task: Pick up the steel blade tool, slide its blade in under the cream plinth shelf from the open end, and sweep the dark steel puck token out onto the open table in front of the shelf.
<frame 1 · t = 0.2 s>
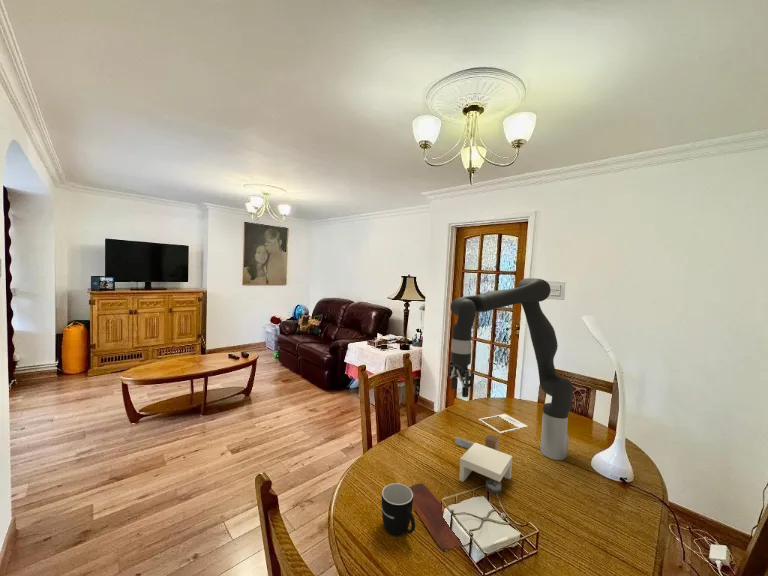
hand: (459, 392, 121), 28 cm above the table, fingers open, 8 cm apart
blade tool: (491, 457, 127), on the table
mug: (399, 531, 89), on the table
wooden tablet: (432, 515, 97), on the table
plinth shelf: (485, 478, 114), on the table
photo frame: (502, 424, 158), on the table
token: (493, 489, 109), on the table
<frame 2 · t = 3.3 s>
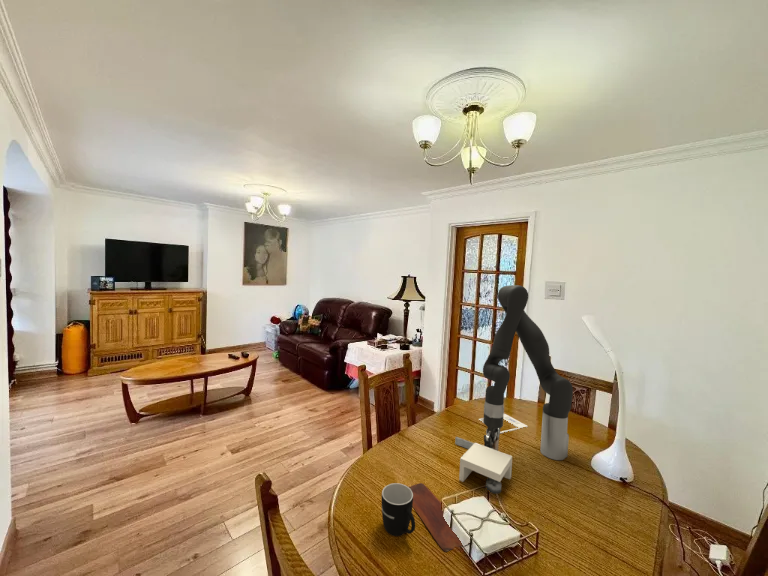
hand: (491, 454, 127), 1 cm above the table, fingers closed on blade tool, 4 cm apart
blade tool: (491, 457, 127), on the table, touching gripper
everything else where it was.
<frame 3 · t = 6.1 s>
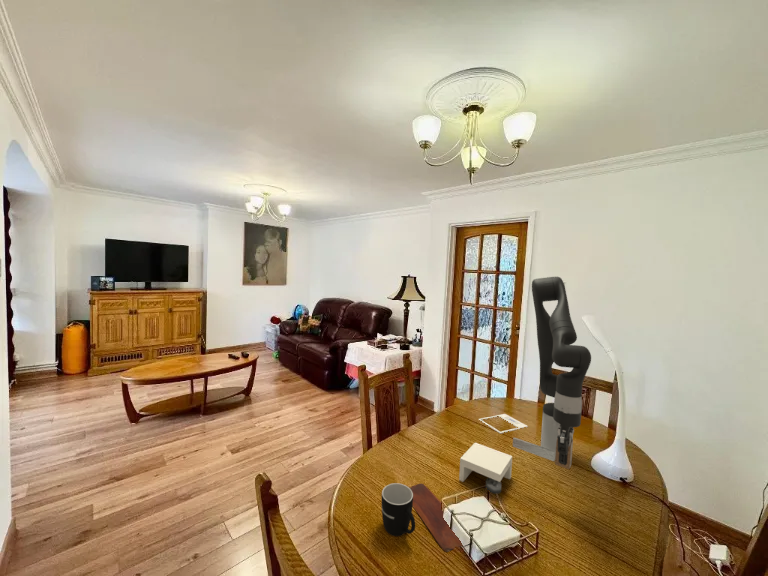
hand: (563, 460, 100), 15 cm above the table, fingers closed on blade tool, 4 cm apart
blade tool: (563, 464, 100), point 14 cm above the table, touching gripper
everything else where it was.
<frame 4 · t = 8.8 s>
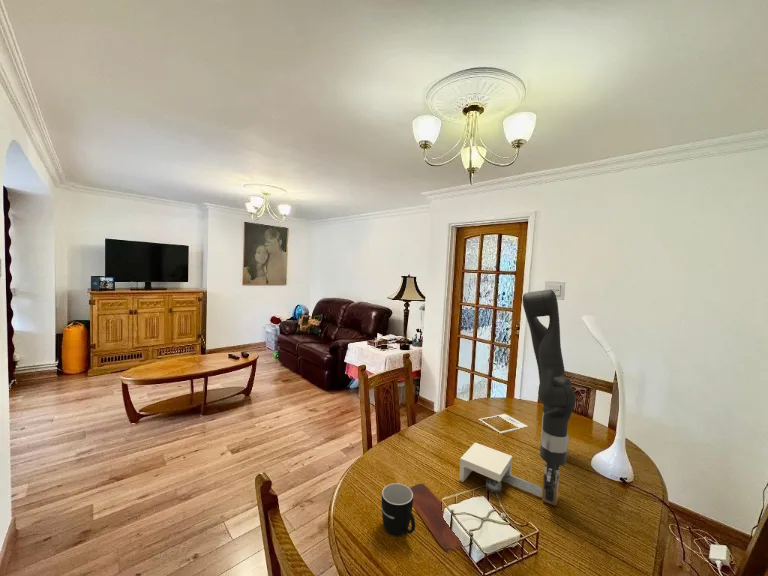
hand: (550, 496, 103), 2 cm above the table, fingers closed on blade tool, 4 cm apart
blade tool: (549, 499, 103), point 1 cm above the table, touching gripper
everything else where it was.
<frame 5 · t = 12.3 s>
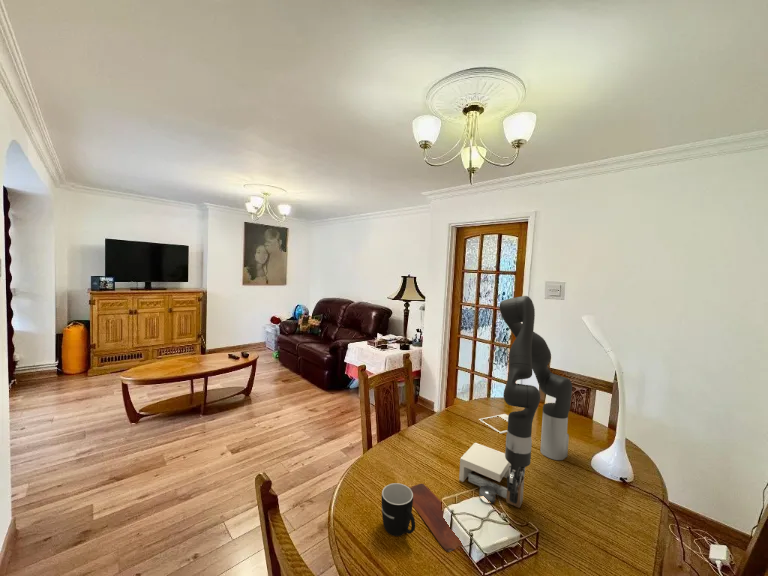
hand: (515, 497, 101), 2 cm above the table, fingers closed on blade tool, 4 cm apart
blade tool: (514, 501, 101), point 1 cm above the table, touching gripper, token
token: (487, 498, 104), on the table, touching blade tool
everything else where it was.
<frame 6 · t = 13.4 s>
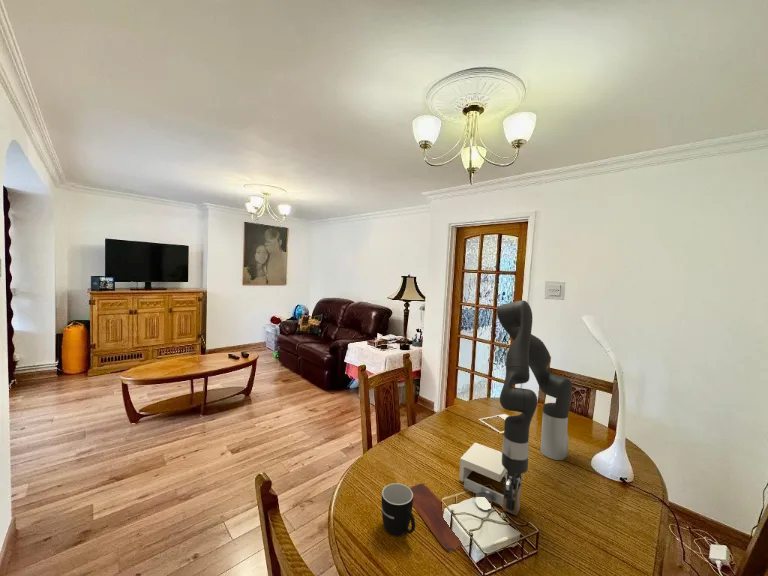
hand: (512, 505, 98), 2 cm above the table, fingers closed on blade tool, 4 cm apart
blade tool: (511, 508, 98), point 1 cm above the table, touching gripper, token
token: (483, 504, 101), on the table, touching blade tool
everything else where it was.
when the fingers open (2 cm above the table, at t = 14.6 s): blade tool stays where it is, on the table.
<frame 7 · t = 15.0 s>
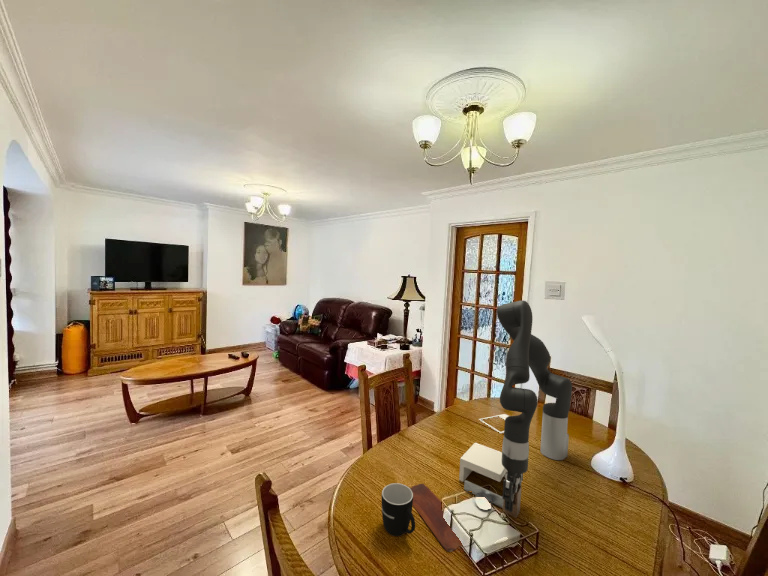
hand: (512, 503, 98), 3 cm above the table, fingers open, 7 cm apart
blade tool: (511, 511, 98), on the table
token: (483, 505, 101), on the table
everything else where it was.
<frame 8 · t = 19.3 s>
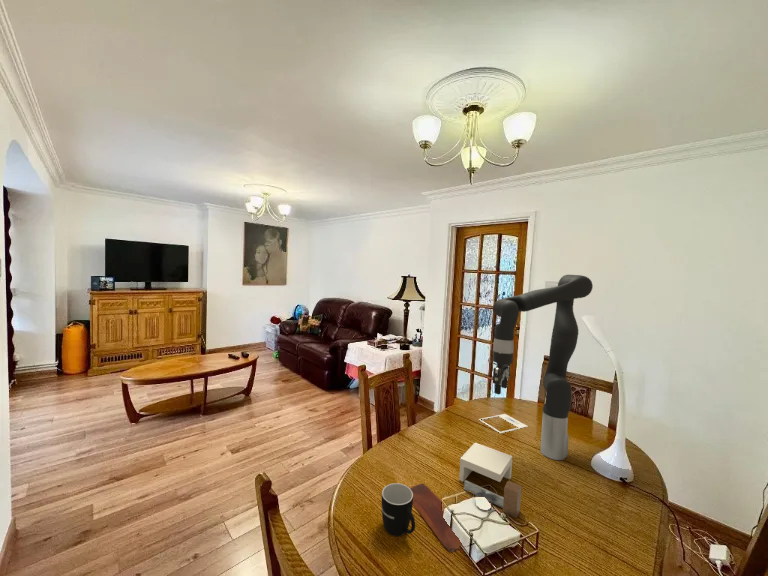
hand: (500, 390, 125), 28 cm above the table, fingers open, 8 cm apart
at the end: token inside the target area (6.1 cm from its centre), on the table; token moved 9.8 cm from its start; the gripper is holding nothing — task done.
